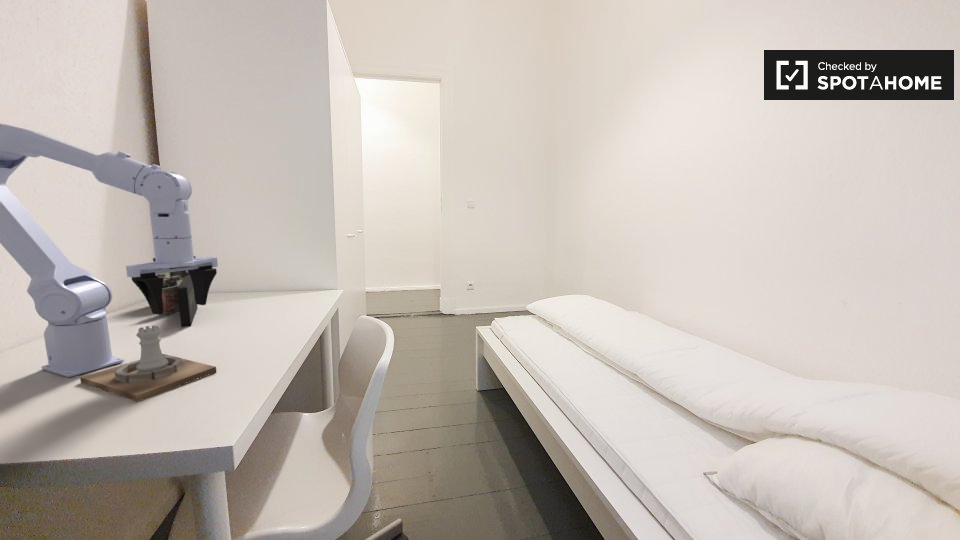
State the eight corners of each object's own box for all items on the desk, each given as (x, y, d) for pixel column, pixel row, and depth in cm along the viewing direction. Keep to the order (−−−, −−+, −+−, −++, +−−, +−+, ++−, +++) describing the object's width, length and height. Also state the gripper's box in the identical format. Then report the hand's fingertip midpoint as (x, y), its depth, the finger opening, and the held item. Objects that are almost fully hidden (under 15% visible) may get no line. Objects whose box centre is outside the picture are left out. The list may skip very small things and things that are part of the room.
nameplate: (190, 326, 97) (186, 287, 96) (181, 327, 96) (177, 287, 95) (197, 308, 115) (194, 274, 113) (189, 309, 114) (186, 275, 112)
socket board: (80, 382, 66) (79, 370, 65) (161, 358, 76) (160, 347, 76) (137, 401, 59) (135, 388, 59) (216, 372, 70) (215, 360, 70)
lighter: (167, 316, 106) (163, 279, 104) (155, 316, 106) (151, 279, 104) (190, 308, 114) (186, 274, 112) (178, 308, 114) (174, 274, 112)
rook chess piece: (151, 379, 65) (145, 332, 64) (129, 376, 66) (123, 330, 64) (176, 368, 69) (171, 324, 68) (155, 366, 70) (150, 323, 69)
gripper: (139, 241, 65) (149, 320, 67) (225, 236, 78) (231, 302, 80) (115, 239, 68) (125, 316, 70) (202, 235, 81) (208, 299, 83)
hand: (180, 308), depth 75 cm, fingers open, 7 cm apart
